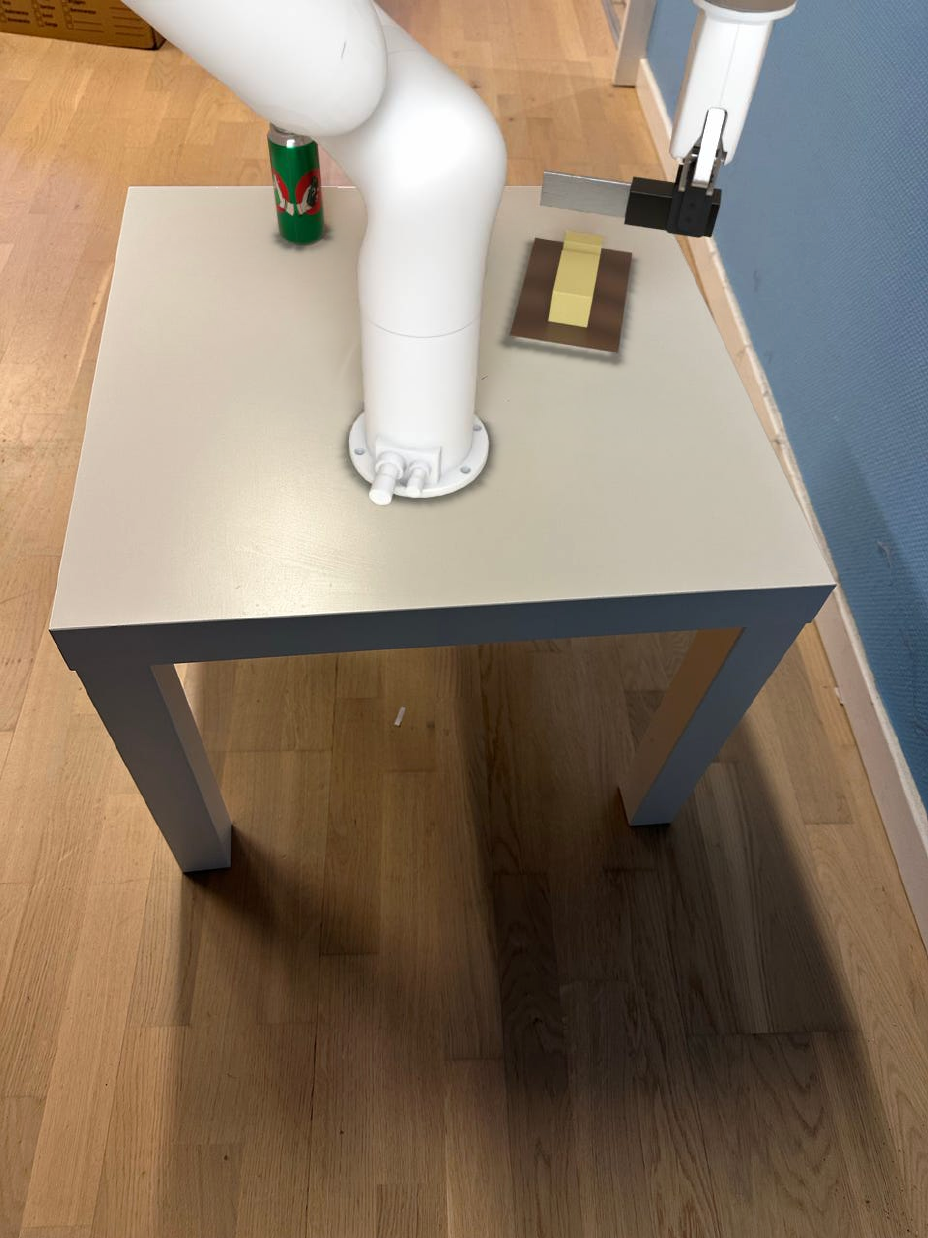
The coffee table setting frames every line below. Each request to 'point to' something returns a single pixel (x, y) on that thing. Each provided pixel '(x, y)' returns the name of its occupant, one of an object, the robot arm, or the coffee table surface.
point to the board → (604, 305)
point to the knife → (618, 198)
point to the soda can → (296, 186)
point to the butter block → (574, 288)
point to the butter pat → (583, 243)
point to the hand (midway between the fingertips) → (685, 221)
